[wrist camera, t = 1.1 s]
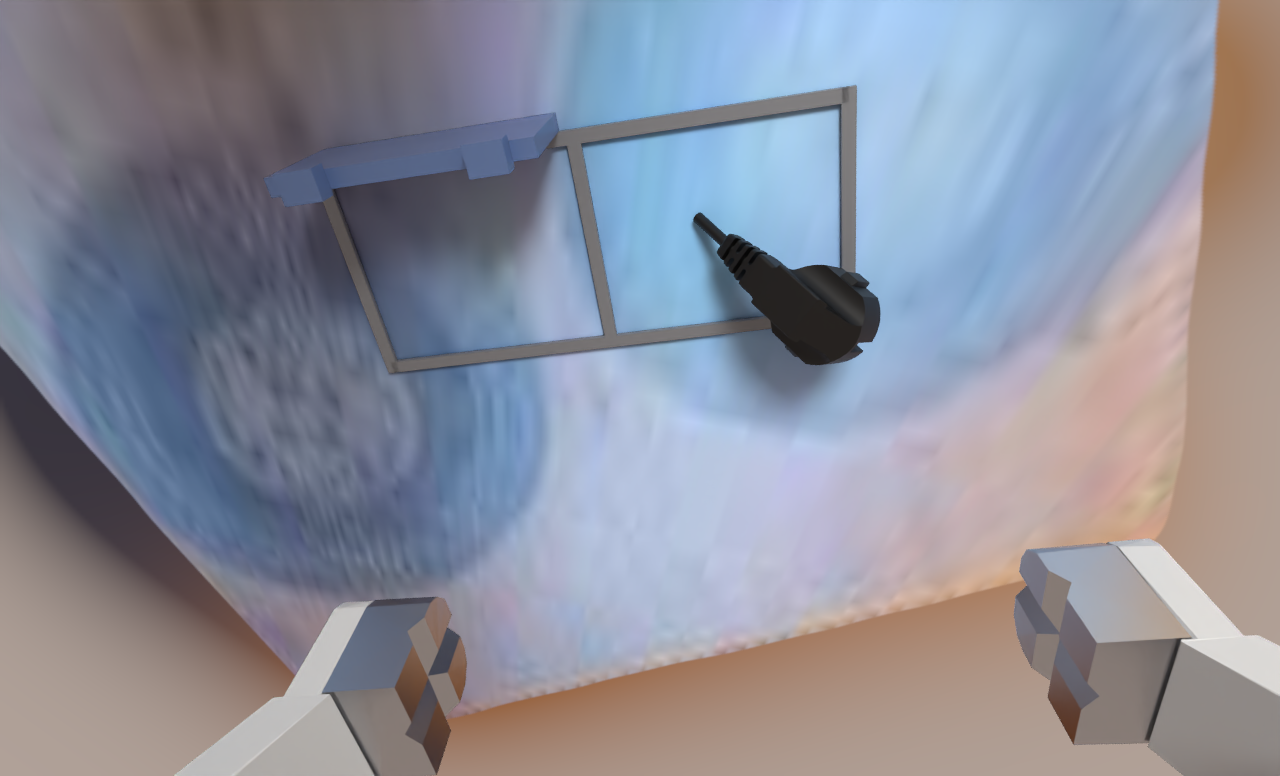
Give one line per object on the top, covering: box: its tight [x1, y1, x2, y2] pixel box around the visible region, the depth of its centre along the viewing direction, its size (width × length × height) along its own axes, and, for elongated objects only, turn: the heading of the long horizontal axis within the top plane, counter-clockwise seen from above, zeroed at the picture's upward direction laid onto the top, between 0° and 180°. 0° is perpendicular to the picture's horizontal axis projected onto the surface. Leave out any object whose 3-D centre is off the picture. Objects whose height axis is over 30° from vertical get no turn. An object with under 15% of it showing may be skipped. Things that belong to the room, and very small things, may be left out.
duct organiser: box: [263, 85, 857, 373], centre depth 39 cm, size 15×32×8 cm, turn 99°
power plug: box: [693, 213, 880, 365], centre depth 41 cm, size 6×8×12 cm
